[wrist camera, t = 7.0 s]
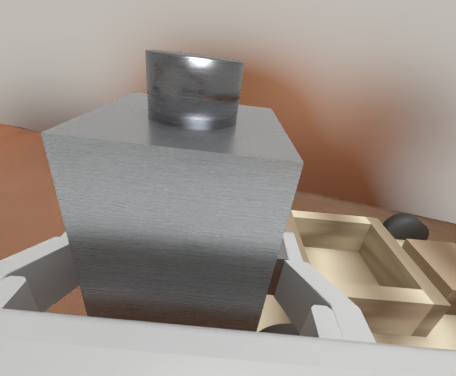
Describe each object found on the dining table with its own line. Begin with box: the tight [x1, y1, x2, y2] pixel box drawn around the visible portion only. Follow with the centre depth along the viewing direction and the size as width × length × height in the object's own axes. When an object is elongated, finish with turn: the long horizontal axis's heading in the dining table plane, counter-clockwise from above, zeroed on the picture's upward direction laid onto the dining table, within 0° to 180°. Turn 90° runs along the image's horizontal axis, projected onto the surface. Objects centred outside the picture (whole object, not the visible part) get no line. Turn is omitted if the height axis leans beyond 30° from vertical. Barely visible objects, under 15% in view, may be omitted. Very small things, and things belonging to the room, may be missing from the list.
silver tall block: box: [41, 50, 303, 332], centre depth 9 cm, size 5×5×12 cm
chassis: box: [257, 210, 456, 350], centre depth 19 cm, size 18×14×4 cm
